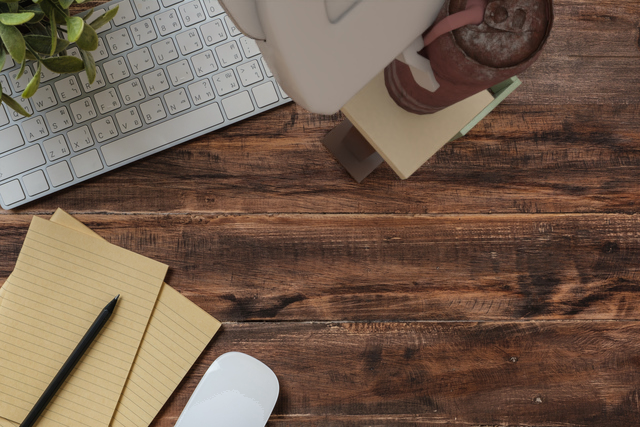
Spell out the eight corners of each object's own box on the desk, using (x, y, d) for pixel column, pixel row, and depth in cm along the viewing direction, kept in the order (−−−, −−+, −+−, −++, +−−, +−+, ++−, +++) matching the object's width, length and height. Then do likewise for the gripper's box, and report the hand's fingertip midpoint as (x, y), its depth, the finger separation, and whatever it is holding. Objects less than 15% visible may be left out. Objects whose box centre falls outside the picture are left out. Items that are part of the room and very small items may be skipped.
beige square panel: (323, 91, 40) (325, 86, 39) (411, 14, 41) (415, 7, 39) (402, 180, 41) (406, 178, 39) (487, 103, 41) (495, 98, 40)
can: (367, 55, 37) (417, -23, 23) (442, 24, 37) (537, -71, 23) (396, 129, 37) (463, 97, 23) (470, 98, 38) (579, 48, 24)
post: (320, 141, 67) (340, 92, 40) (361, 104, 68) (410, 31, 41) (357, 183, 68) (403, 163, 41) (399, 146, 68) (471, 101, 41)
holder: (399, 86, 68) (410, 74, 62) (453, 38, 69) (469, 21, 63) (448, 142, 69) (463, 135, 63) (502, 94, 69) (522, 82, 63)
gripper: (221, -24, 16) (369, 198, 26) (646, -402, 17) (629, -47, 27) (163, -52, 20) (310, 148, 31) (506, -353, 21) (537, -62, 32)
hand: (462, 55), depth 29 cm, fingers closed on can, 3 cm apart
